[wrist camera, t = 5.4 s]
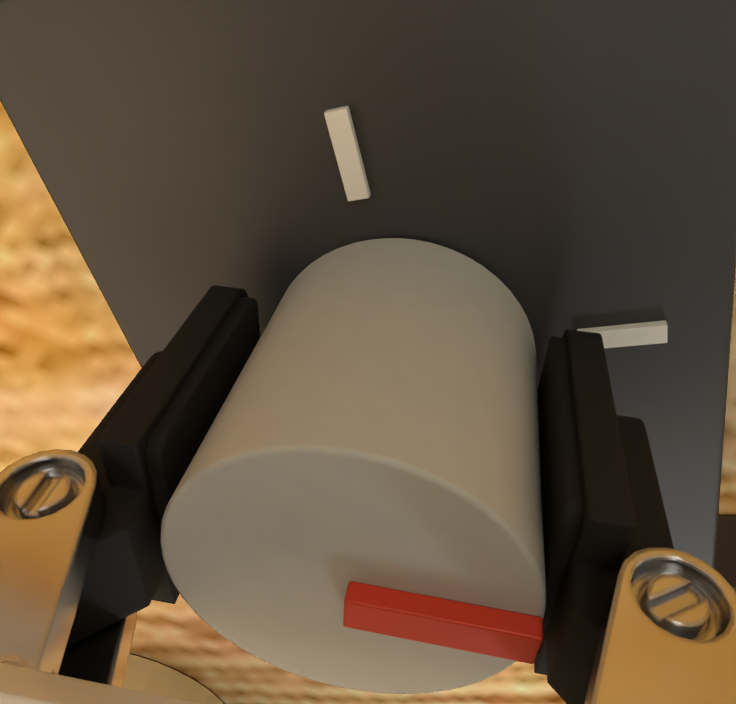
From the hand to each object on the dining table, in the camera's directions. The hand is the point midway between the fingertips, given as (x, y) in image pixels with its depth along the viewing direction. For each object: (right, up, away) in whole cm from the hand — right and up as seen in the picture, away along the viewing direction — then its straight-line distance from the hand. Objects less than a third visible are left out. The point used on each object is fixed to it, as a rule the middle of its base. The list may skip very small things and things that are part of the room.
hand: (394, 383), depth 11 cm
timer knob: (0, 0, +1) cm, 1 cm away
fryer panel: (+1, +2, +3) cm, 4 cm away
